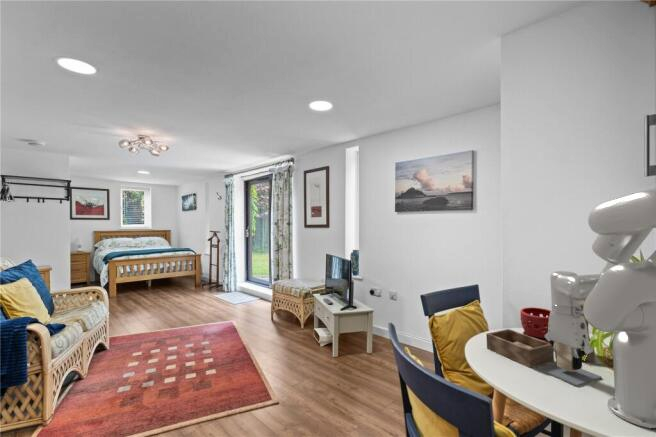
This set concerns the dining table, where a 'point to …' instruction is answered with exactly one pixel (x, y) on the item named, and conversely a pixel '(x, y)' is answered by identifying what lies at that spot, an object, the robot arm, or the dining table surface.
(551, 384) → the dining table surface
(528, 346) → the walnut box
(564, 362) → the maple block
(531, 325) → the plant pot
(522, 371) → the dining table surface
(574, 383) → the mat
